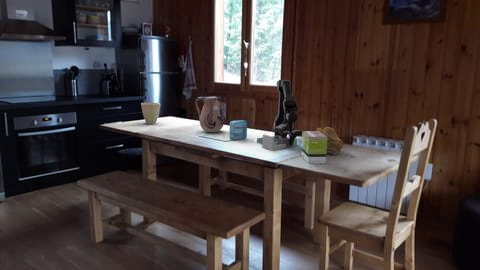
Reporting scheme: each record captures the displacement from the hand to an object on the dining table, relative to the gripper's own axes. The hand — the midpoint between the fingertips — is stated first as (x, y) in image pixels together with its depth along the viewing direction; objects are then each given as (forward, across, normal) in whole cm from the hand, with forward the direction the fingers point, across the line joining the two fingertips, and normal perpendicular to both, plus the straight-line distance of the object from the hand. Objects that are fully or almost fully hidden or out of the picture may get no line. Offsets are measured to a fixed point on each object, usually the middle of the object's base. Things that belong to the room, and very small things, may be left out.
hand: (287, 144), depth 238 cm
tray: (+1, -13, -2) cm, 13 cm away
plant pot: (+1, -114, -43) cm, 122 cm away
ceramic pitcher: (+1, -64, -19) cm, 67 cm away
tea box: (+1, +32, -10) cm, 34 cm away
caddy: (+1, 0, +1) cm, 1 cm away
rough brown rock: (+1, +25, +10) cm, 27 cm away
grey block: (+1, 0, -10) cm, 10 cm away
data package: (+1, -33, -14) cm, 36 cm away
